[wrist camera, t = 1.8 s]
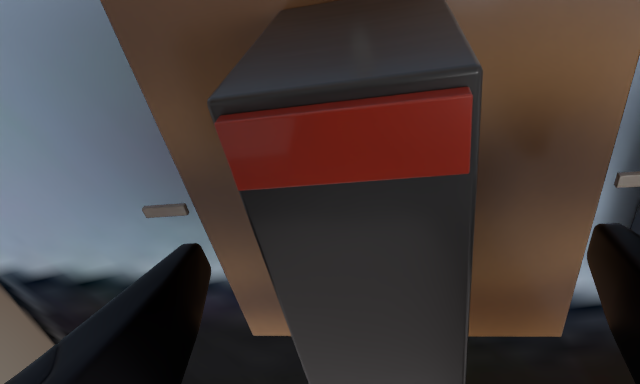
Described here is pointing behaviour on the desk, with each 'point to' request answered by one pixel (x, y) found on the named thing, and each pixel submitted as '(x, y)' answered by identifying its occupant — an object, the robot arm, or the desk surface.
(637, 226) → the button housing
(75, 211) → the desk surface
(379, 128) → the box
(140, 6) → the base
